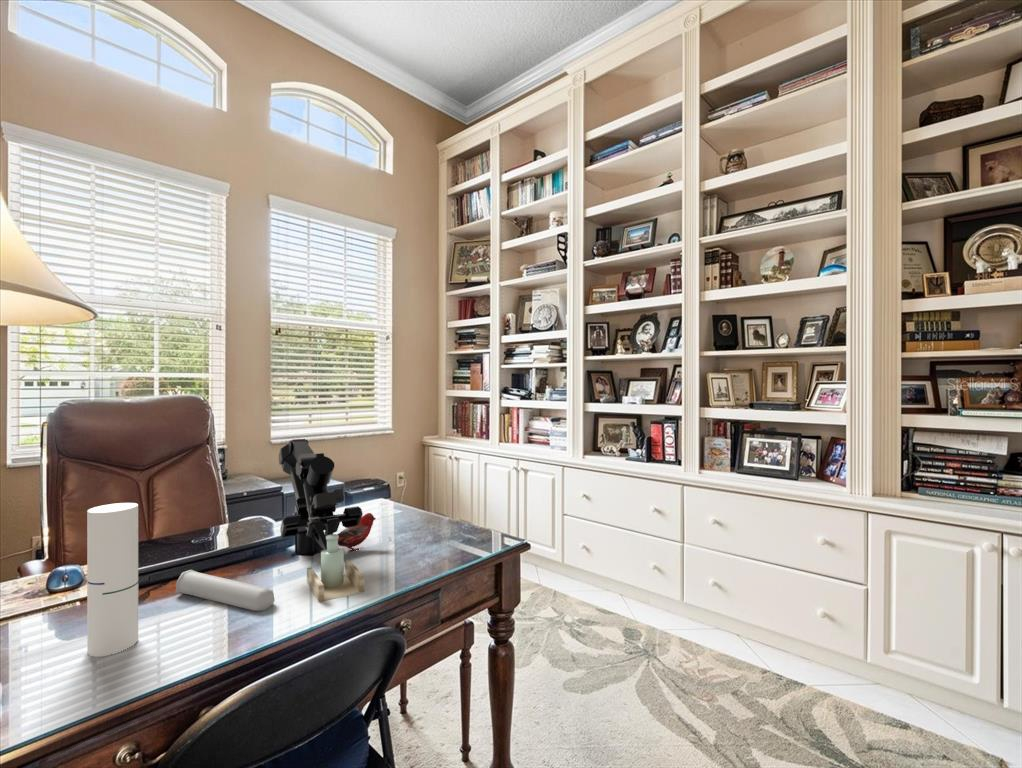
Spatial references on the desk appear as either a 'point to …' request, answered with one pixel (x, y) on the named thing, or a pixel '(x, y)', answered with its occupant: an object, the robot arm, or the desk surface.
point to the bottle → (332, 563)
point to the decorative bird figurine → (356, 533)
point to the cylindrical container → (112, 578)
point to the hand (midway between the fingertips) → (328, 552)
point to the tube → (225, 590)
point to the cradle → (350, 586)
